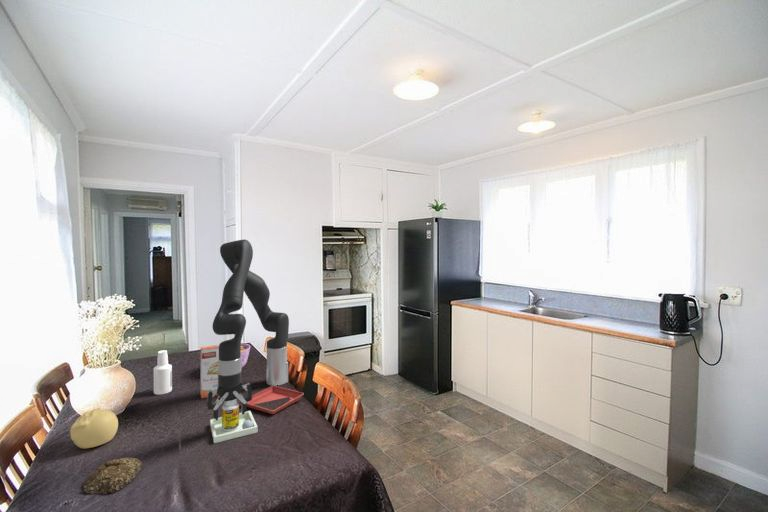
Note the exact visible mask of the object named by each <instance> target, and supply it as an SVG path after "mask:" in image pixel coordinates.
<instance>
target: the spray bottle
mask: <svg viewBox="0 0 768 512" xmlns="http://www.w3.org/2000/svg"><path fill="white" fill-rule="evenodd" d="M172 391H173V365H172V364H169V356H168V350H165V349H164V350H162V349H161V350H159V351H157V361H156V365H155V366H154V367H153V394H154V395H156V396H157V395H159V396H160V395H165V394H168V393H171V392H172Z"/></svg>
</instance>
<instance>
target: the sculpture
mask: <svg viewBox="0 0 768 512" xmlns="http://www.w3.org/2000/svg"><path fill="white" fill-rule="evenodd" d="M118 428H119V419H118V417H117V415H116V414H115V413H114V412H113V411H111V410H107V409H101V408H100V407H98V408H94V409H92V410H89V411H84V413H82V414H81V415H80V416H79V417H78V418H77V419H76V420H75V422H74V423H73V424H72V425H71V427H70V429H69V433H70V439H71V441H73V444H74V445H75V446H77V447H78V448H80V449H83V450H84V449H85V450H86V449H91V448H95V447H98V446H102V445H104V444H106V443H108V442H110V441H111V440H113V438H114V437H115V435H116V434H117V432H118Z"/></svg>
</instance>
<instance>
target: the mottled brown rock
mask: <svg viewBox="0 0 768 512" xmlns="http://www.w3.org/2000/svg"><path fill="white" fill-rule="evenodd" d="M143 467H144V462H142V461H141V460H140V459H139V458H135V457H121V458H115V459H111V460H107V461H106V462H104V463H102V464H101V465H100V466H98V467H96V468H95V470H93V471H92V472H91V473H90V474H89V475H88V476H87V477H86V478H85V480H84V481H83V482H82V488H83V491H84V492H85V493H86V494H90V493H91V495H93V494H92V493H99V494H100V493H104V494H103V495H105V494H107V493H110V494H114V493H117V492H118V490H119V491H120V490H121V488H122V489H123V488H125V487H126V486H127V485H128V484H130V483H132V481H133V480H134V479H135V478H136V477H137V476H138V474H139V473H140V472H141V470H142V469H143ZM116 491H117V492H116ZM113 492H114V493H113ZM107 495H108V494H107Z"/></svg>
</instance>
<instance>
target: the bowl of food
mask: <svg viewBox="0 0 768 512" xmlns="http://www.w3.org/2000/svg"><path fill="white" fill-rule="evenodd" d="M250 350H251V345H250V344H248V343H243V342H241V366H242V368H243V367H244V366H245V365H246V364H247V362H248V358H249V355H250Z"/></svg>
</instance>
